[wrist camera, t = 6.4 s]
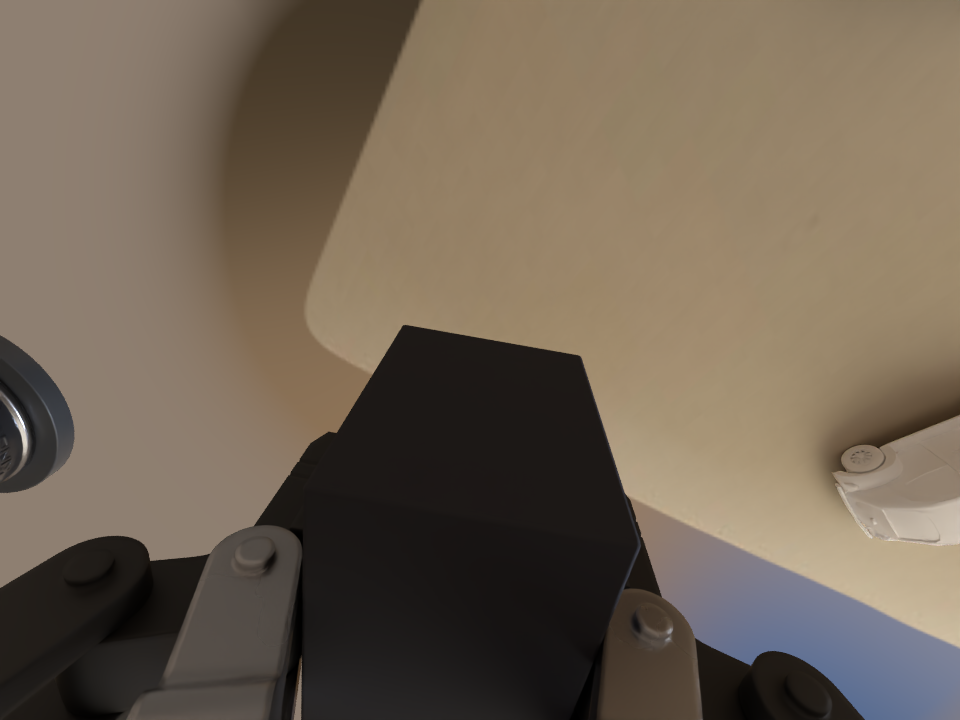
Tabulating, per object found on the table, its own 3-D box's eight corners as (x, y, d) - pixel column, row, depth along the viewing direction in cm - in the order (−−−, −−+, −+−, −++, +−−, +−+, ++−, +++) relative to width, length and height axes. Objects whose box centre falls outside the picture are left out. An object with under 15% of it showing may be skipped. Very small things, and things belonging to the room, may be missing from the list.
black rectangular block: (382, 528, 13) (299, 769, 8) (402, 323, 10) (300, 486, 5) (526, 552, 13) (535, 809, 8) (582, 354, 10) (645, 545, 5)
